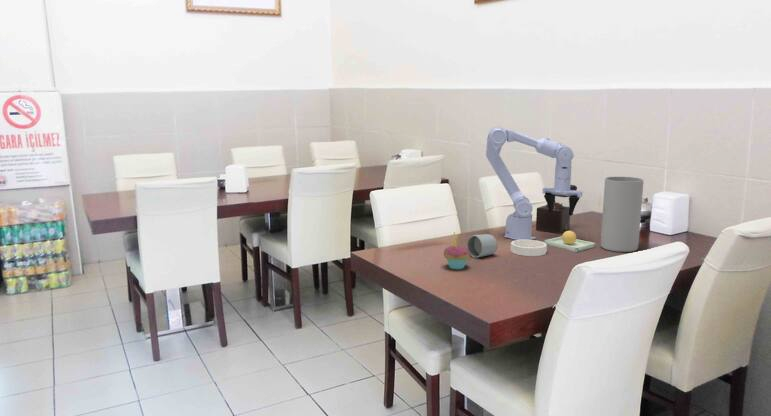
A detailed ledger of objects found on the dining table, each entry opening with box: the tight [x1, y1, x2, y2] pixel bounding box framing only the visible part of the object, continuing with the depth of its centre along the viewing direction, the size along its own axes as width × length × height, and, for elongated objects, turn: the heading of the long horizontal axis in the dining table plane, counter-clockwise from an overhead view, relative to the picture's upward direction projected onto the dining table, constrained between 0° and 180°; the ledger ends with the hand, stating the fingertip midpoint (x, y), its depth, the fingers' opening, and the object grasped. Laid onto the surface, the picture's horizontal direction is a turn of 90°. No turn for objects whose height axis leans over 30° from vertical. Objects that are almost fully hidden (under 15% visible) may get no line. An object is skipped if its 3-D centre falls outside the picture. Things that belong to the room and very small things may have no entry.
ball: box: [561, 230, 577, 244], centre depth 210 cm, size 5×5×5 cm
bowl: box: [509, 239, 548, 257], centre depth 203 cm, size 12×12×3 cm
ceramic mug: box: [466, 233, 498, 259], centre depth 199 cm, size 11×8×8 cm
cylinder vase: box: [600, 176, 644, 253], centre depth 205 cm, size 12×12×25 cm
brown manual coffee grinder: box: [535, 184, 578, 235], centre depth 236 cm, size 16×11×18 cm
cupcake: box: [443, 231, 471, 270], centre depth 184 cm, size 9×8×12 cm
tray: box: [543, 235, 596, 253], centre depth 211 cm, size 14×11×2 cm
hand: (560, 214), depth 218 cm, fingers open, 7 cm apart
